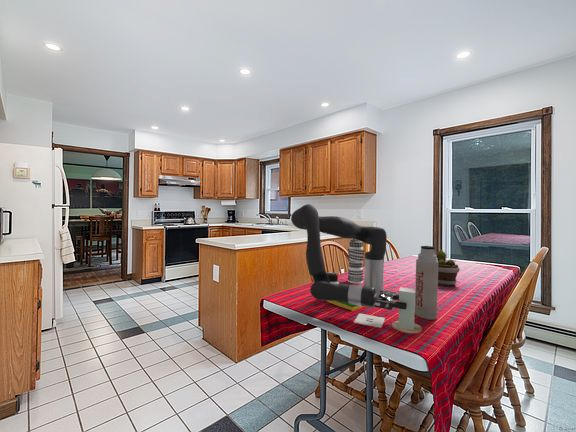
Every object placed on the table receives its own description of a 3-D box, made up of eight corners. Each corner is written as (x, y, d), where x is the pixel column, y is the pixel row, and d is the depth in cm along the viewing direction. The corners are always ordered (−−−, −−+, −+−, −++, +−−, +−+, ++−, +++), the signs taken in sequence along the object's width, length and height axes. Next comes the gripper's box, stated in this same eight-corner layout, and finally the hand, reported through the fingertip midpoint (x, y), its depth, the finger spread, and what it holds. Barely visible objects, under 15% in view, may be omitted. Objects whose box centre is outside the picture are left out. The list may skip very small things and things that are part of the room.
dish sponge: (336, 298, 132) (336, 293, 132) (362, 307, 122) (362, 302, 122) (326, 301, 127) (326, 296, 127) (352, 311, 117) (353, 305, 117)
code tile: (359, 314, 115) (359, 313, 115) (385, 318, 110) (385, 317, 110) (353, 323, 106) (353, 322, 106) (381, 328, 101) (381, 327, 101)
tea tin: (399, 322, 106) (400, 287, 105) (414, 324, 103) (415, 289, 103) (397, 327, 101) (398, 290, 101) (413, 330, 99) (414, 293, 98)
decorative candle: (347, 283, 160) (348, 239, 160) (346, 279, 170) (347, 237, 169) (364, 284, 159) (365, 239, 158) (362, 280, 168) (363, 238, 167)
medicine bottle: (338, 301, 129) (338, 275, 129) (322, 300, 131) (323, 274, 130) (338, 296, 136) (339, 272, 136) (323, 295, 138) (324, 271, 137)
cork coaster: (393, 320, 109) (393, 318, 109) (422, 325, 104) (422, 323, 104) (390, 330, 100) (390, 328, 100) (421, 336, 95) (421, 334, 95)
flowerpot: (465, 287, 154) (466, 251, 154) (437, 287, 155) (438, 251, 154) (450, 280, 169) (451, 247, 168) (424, 280, 169) (425, 247, 168)
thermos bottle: (421, 319, 110) (423, 247, 109) (410, 312, 117) (412, 244, 116) (441, 319, 110) (443, 247, 109) (429, 311, 118) (431, 244, 117)
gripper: (357, 291, 102) (406, 297, 95) (365, 281, 115) (408, 287, 108) (357, 311, 103) (405, 319, 96) (365, 300, 116) (408, 306, 108)
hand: (407, 302), depth 102 cm, fingers open, 8 cm apart
